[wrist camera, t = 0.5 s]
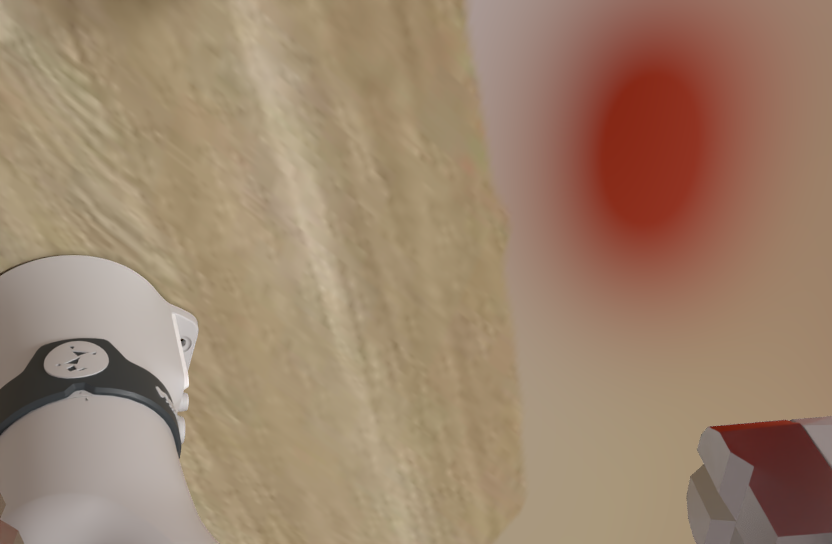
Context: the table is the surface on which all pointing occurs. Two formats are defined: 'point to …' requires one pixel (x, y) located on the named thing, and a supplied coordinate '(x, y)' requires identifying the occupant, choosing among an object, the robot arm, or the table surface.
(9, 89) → the table surface
